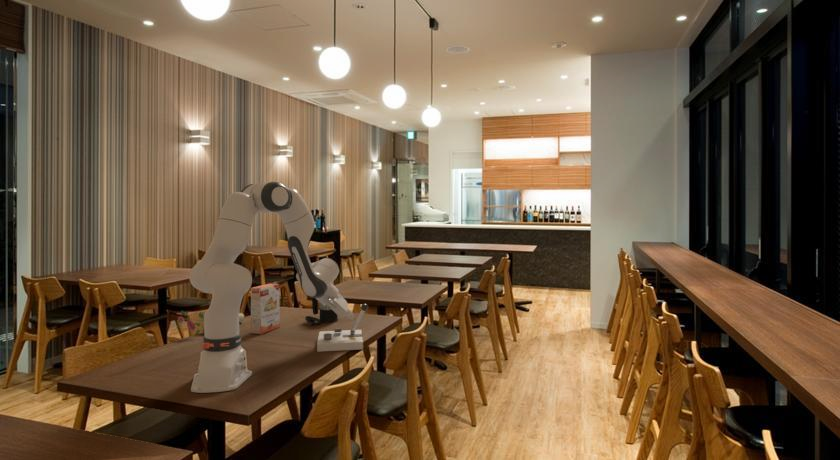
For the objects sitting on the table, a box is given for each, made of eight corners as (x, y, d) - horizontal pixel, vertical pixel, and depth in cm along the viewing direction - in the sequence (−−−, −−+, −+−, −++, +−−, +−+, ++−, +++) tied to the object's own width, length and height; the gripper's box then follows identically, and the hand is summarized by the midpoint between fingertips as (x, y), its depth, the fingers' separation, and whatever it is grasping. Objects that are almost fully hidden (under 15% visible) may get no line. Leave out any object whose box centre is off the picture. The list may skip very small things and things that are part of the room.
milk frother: (340, 318, 262) (340, 289, 261) (331, 326, 246) (331, 295, 245) (313, 318, 263) (312, 289, 262) (302, 325, 248) (301, 295, 247)
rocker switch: (341, 332, 218) (341, 328, 218) (334, 332, 217) (334, 329, 218) (341, 331, 222) (341, 328, 222) (334, 331, 222) (334, 328, 222)
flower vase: (243, 339, 253) (187, 341, 221) (225, 329, 258) (167, 330, 225) (251, 316, 253) (197, 315, 221) (233, 307, 258) (177, 305, 226)
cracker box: (261, 335, 232) (260, 288, 230) (250, 333, 234) (249, 287, 232) (281, 327, 245) (279, 283, 243) (270, 326, 247) (269, 282, 246)
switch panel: (363, 349, 208) (362, 341, 207) (317, 351, 205) (316, 343, 205) (361, 336, 227) (361, 329, 227) (319, 338, 225) (319, 331, 225)
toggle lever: (348, 333, 215) (363, 303, 215) (348, 331, 218) (362, 302, 218) (354, 336, 215) (369, 306, 216) (354, 334, 218) (369, 305, 219)
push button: (331, 339, 210) (331, 335, 210) (323, 339, 210) (323, 335, 209) (331, 337, 213) (331, 333, 213) (323, 337, 213) (323, 333, 213)
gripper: (333, 294, 204) (358, 318, 206) (334, 286, 224) (357, 307, 226) (322, 306, 204) (347, 329, 206) (324, 296, 224) (347, 318, 226)
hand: (353, 318), depth 216 cm, fingers closed
